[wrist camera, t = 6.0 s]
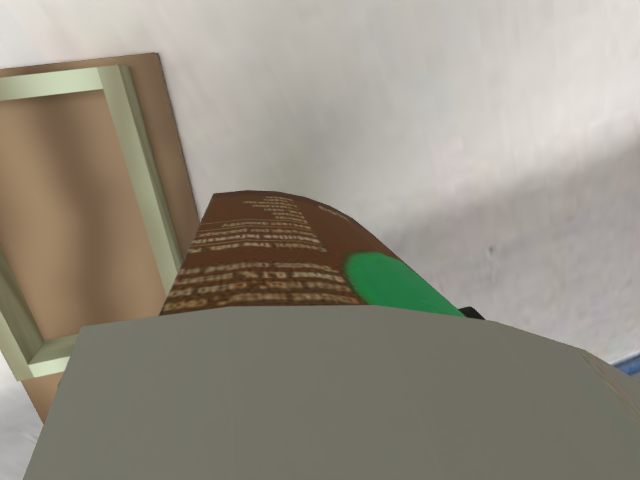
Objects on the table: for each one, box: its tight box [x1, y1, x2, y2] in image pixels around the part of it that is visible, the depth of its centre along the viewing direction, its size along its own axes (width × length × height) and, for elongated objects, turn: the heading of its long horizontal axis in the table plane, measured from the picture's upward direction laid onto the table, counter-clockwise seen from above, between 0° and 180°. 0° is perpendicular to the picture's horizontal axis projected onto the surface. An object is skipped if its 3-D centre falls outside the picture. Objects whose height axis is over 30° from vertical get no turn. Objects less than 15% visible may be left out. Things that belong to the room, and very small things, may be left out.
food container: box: [23, 190, 640, 480], centre depth 8 cm, size 12×6×10 cm, turn 7°
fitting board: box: [0, 53, 200, 424], centre depth 27 cm, size 14×30×4 cm, turn 6°
